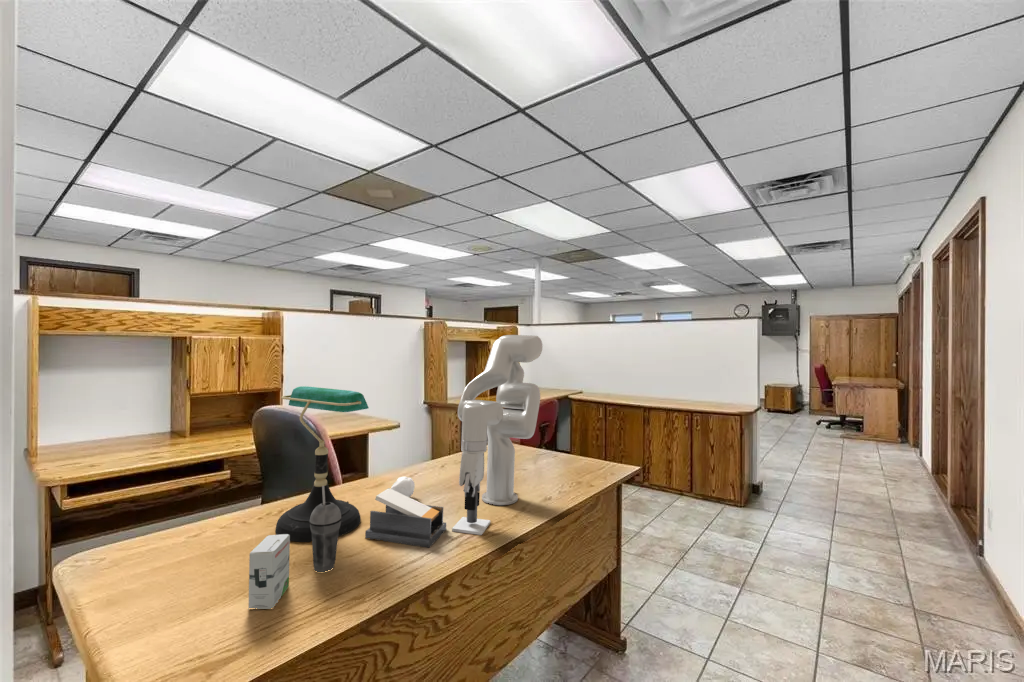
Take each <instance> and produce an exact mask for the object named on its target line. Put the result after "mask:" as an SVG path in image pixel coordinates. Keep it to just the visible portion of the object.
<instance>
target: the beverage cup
mask: <svg viewBox="0 0 1024 682" xmlns="http://www.w3.org/2000/svg"><path fill="white" fill-rule="evenodd" d="M322 495H323V503H321V504H319V505H318V506H317V507H316V508H315V509H314V510H313V512H312V514H311V516H310V521H309V524H310V529H311V532H312V542H311V545H312V546H311V548H312V549H311V550H312V561H313V571H314V570H315V571H317V572H325V571H328V570H331V569H332V568H335V563H336V558H337V551H338V544H339V543H338V541H339V536H338V534H339V528H340V524H341V520H342V517H341V512H340V509H339V507H338V506H337V505H335V504H334V503H331V502H325V489H324V486H322ZM332 570H333V569H332ZM332 570H331V571H332ZM315 571H314V572H315ZM317 572H316V573H317ZM325 573H326V572H325Z"/></svg>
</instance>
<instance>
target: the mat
mask: <svg viewBox="0 0 1024 682" xmlns="http://www.w3.org/2000/svg"><path fill="white" fill-rule="evenodd" d="M490 524H491V520H490V519H482V518H477V522H475V523H468V522H467V516H462V517H460V519H459V520H458V521H457V522H456V523H455V524H454V525H453V527H452V528H451V532H455V533H462V534H463V533H464V534H470V535H477V536H482V535H483V534H484V533H485V531H486V530H487V528H488V527H489V525H490Z"/></svg>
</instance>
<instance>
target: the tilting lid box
mask: <svg viewBox="0 0 1024 682" xmlns="http://www.w3.org/2000/svg"><path fill="white" fill-rule="evenodd" d="M425 505H426V506H429V507H431V508H433V509H435V510H437V511H440V512H439V515H438V516H437V517H436V518H435V519H434V520H433V521H432V522H431V518H424V517H417V516H409V515H406V514H404V513H402V512H400V511H398V510H396V509H394V508H392V507H389V506H387V505H385V511H378V510H377V511H376V510H370V511H369V513H370V515H369V528H367V530H365V538H364V539H366V538H370V539H369V540H373V539H376V540H375V541H380V540H383V541H382V542H387V541H388V542H387V543H395V544H400V543H401V545H402V544H403V545H408V546H409V545H410V546H414V547H421V548H431V546H432V545H433V544H434V543H435V542H436V541H437V540H438V539H439V538H440V537H441V536H442V535H443V534H444V533H445V532H446V530H447V522H444V506H437V505H428V504H425Z"/></svg>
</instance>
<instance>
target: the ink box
mask: <svg viewBox="0 0 1024 682" xmlns="http://www.w3.org/2000/svg"><path fill="white" fill-rule="evenodd" d="M290 544H291V541H290V535H288V534H281V535H277V534H269V535H266V537H264V539H263V540H262V541H261V542H259V543H258V545H256V546H255V547H254V548H253V550H251V551H250V552H249V559H248V560H249V562H248V563H249V568H248V569H249V574H248V609H249V608H255V609H256V608H257V609H271V608H273V607H274V606H276V605H277V604H278V602H279V601H280V600H279V599H281V598H282V597H283V596H284V594H285V592H286V591H287V590H288V589H289V586H290V547H291V546H290ZM281 596H282V597H281ZM278 600H279V601H278ZM276 603H277V604H276ZM275 604H276V605H275ZM274 608H275V607H274ZM274 608H273V609H274Z"/></svg>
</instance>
